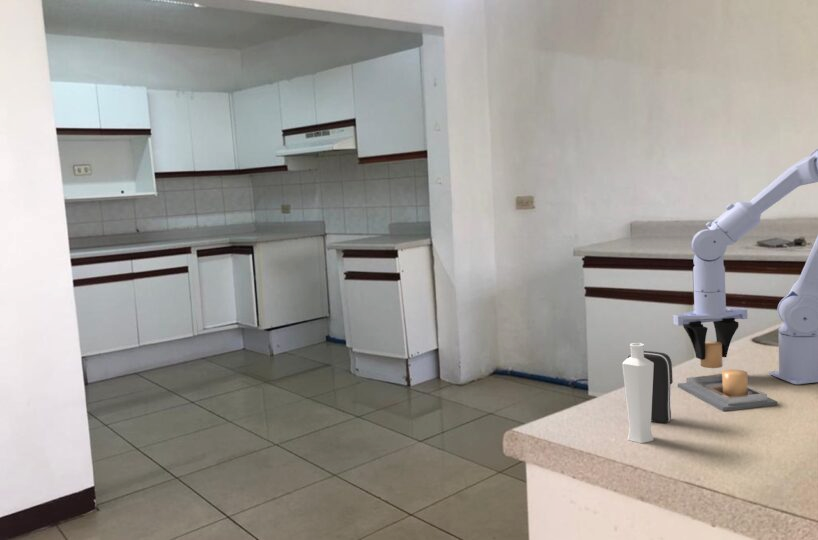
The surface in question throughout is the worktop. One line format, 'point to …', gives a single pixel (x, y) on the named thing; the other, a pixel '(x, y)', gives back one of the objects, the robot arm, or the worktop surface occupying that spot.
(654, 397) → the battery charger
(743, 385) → the frame
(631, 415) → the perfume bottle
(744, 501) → the worktop surface
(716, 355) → the peach rounded capsule
